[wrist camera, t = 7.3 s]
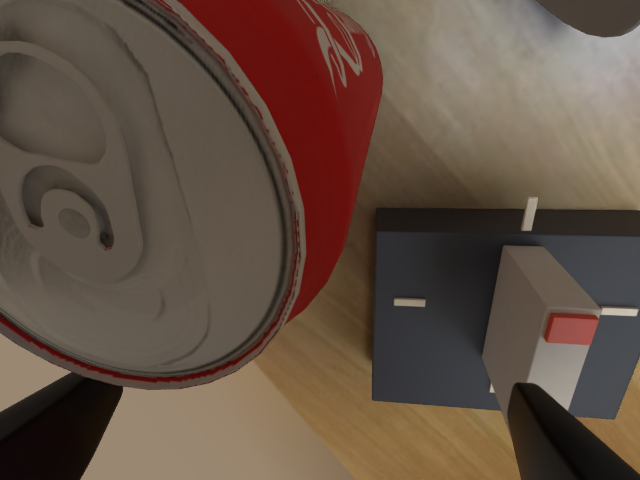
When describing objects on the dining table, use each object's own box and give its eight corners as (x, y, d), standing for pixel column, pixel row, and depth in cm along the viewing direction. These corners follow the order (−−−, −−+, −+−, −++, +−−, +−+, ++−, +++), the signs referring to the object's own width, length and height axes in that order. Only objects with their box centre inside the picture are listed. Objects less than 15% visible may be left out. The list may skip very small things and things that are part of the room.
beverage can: (405, 43, 16) (569, -75, 2) (344, 181, 19) (262, 485, 5) (273, -16, 16) (-373, -517, 2) (232, 134, 18) (-158, 322, 5)
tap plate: (372, 362, 23) (371, 403, 20) (376, 176, 18) (377, 196, 16) (585, 375, 22) (617, 422, 19) (651, 176, 17) (707, 198, 14)
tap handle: (516, 359, 18) (560, 450, 14) (481, 357, 18) (513, 446, 14) (543, 246, 16) (607, 314, 11) (502, 244, 16) (549, 311, 12)
